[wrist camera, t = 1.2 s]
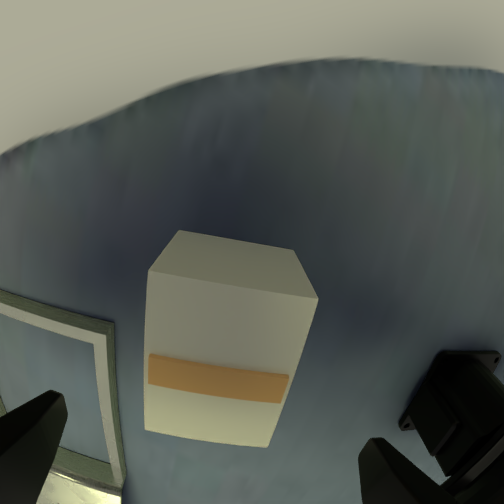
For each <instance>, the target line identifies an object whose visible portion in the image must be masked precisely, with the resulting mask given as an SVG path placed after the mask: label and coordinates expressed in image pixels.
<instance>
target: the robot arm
mask: <svg viewBox="0 0 504 504" xmlns="http://www.w3.org/2000/svg"><path fill="white" fill-rule="evenodd" d="M500 359H501V354H500V353H499V352H498V351H442V352H441V353H439V354H438V356H437V357H436V359H435V361H434V363H433V365H432V367H431V369H430V370H429V372H428V374H427V376H426V378H425V380H424V382H423V383H422V385H421V387H420V389H419V390H418V392H417V394H416V396H415V397H414V399H413V401H412V402H411V404H410V406H409V407H408V409H407V411H406V412H405V414H404V416H403V417H402V419H401V420H400V422H399V424H398V425H399V428H400V429H401V430H402V431H405V430H414V429H416V430H417V431H418V433H419V435H420V437H421V439H422V441H423V442H424V444H425V446H426V448H427V450H428V452H429V454H430V455H431V456H435V458H436V460H437V461H438V463H439V465H440V467H441V469H442V471H443V473H444V475H445V477H448V476H451V475H452V476H451V477H450V478H448V479H447V480H446V481H445V482H444V483H443V484H441V485H440V486H439V485H438V484H437V483H436V482H434V481H433V480H432V479H431V478H430V477H428V476H427V475H426V474H425V473H424V472H422V471H421V470H420V469H419V468H418V467H416V466H415V465H414V464H413V463H412V462H411V461H409V460H408V459H407V458H406V457H405V456H404V455H402V454H401V453H400V452H399V451H398V450H397V449H395V448H394V447H393V446H392V445H391V444H390V443H389V442H387V441H386V440H385V439H384V438H381V437H378V438H371V439H369V440H368V441H367V443H366V444H365V446H364V448H363V449H362V450H361V452H360V454H359V457H358V464H359V474H360V484H361V495H362V502H363V504H504V385H503V384H502V383H501V382H500V381H499V380H498V378H497V377H496V376H495V375H494V374H493V372H494V370H495V369H496V367H497V365H498V363H499V361H500ZM67 417H68V412H67V408H66V404H65V399H64V396H63V394H61V393H59V392H56V391H54V390H48V391H46V392H45V393H43V394H41V395H39V396H37V397H36V398H34V399H32V400H30V401H28V402H27V403H25V404H23V405H21V406H19V407H17V408H16V409H14V410H12V411H10V412H8V413H6V414H5V415H3V416H1V417H0V504H36V503H37V500H38V498H39V495H40V493H41V490H42V488H43V485H44V483H45V481H46V478H47V476H48V473H49V471H50V469H51V466H52V464H53V462H54V459H55V456H56V453H57V450H58V446H59V443H60V440H61V437H62V433H63V430H64V427H65V424H66V421H67Z"/></svg>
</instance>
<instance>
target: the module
mask: <svg viewBox="0 0 504 504" xmlns="http://www.w3.org/2000/svg"><path fill="white" fill-rule="evenodd" d="M318 300H319V299H318V297H317V295H316V293H315V291H314V289H313V287H312V285H311V283H310V281H309V279H308V277H307V275H306V273H305V271H304V269H303V267H302V265H301V263H300V262H299V260H298V258H297V256H296V254H295V252H294V250H290V249H285V248H279V247H274V246H268V245H262V244H257V243H251V242H245V241H240V240H234V239H228V238H223V237H217V236H211V235H205V234H200V233H194V232H188V231H182V230H178V232H177V233H176V234H175V236H174V237H173V238H172V239H171V241H170V242H169V243H168V245H167V246H166V247H165V249H164V250H163V251H162V253H161V254H160V255H159V257H158V258H157V259H156V261H155V262H154V263H153V265H152V266H151V267H150V269H149V270H148V280H147V294H146V312H145V336H144V420H145V430H149V431H153V432H158V433H163V434H168V435H173V436H178V437H184V438H190V439H196V440H202V441H209V442H217V443H225V444H234V445H243V446H255V447H268V445H269V442H270V440H271V437H272V435H273V432H274V429H275V427H276V424H277V422H278V419H279V416H280V414H281V411H282V408H283V406H284V403H285V400H286V397H287V395H288V392H289V389H290V386H291V383H292V380H293V378H294V375H295V372H296V369H297V366H298V363H299V360H300V357H301V354H302V351H303V348H304V345H305V342H306V339H307V336H308V332H309V329H310V326H311V323H312V320H313V316H314V313H315V310H316V306H317V303H318Z"/></svg>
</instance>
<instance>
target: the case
mask: <svg viewBox="0 0 504 504" xmlns="http://www.w3.org/2000/svg"><path fill="white" fill-rule="evenodd" d="M0 313H2V314H4V315H7V316H9V317H12V318H15V319H17V320H20V321H23V322H26V323H29V324H31V325H34V326H37V327H40V328H43V329H46V330H49V331H52V332H56V333H59V334H62V335H65V336H68V337H72V338H75V339H78V340H82V341H85V342H89V343H93V344H94V355H95V367H96V377H97V385H98V394H99V401H100V408H101V415H102V421H103V427H104V433H105V438H106V444H107V449H108V454H109V458H110V463H111V464H108V463H105V462H102V461H99V460H95V459H92V458H89V457H86V456H83V455H80V454H78V453H75V452H72V451H69V450H67V449H64V448H61V447H59V446H58V450H57V453H56V456H55V459H54V462H53V464H52V466H51V469H50V471H49V473H48V476H47V478H46V481H45V483H44V485H43V488H42V490H41V493H40V495H39V498H38V500H37V503H36V504H122V488H123V484H124V481H125V477H126V473H127V471H126V465H125V459H124V452H123V445H122V437H121V429H120V420H119V410H118V399H117V386H116V370H115V345H114V323H112V322H108V321H104V320H100V319H96V318H92V317H88V316H84V315H81V314H77V313H73V312H70V311H66V310H63V309H59V308H56V307H52V306H49V305H46V304H42V303H39V302H36V301H33V300H30V299H26V298H23V297H20V296H17V295H14V294H11V293H8V292H5V291H2V290H0ZM5 414H6V410H5V408H4V405H3V403H2V400H1V397H0V417H1V416H3V415H5Z"/></svg>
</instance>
